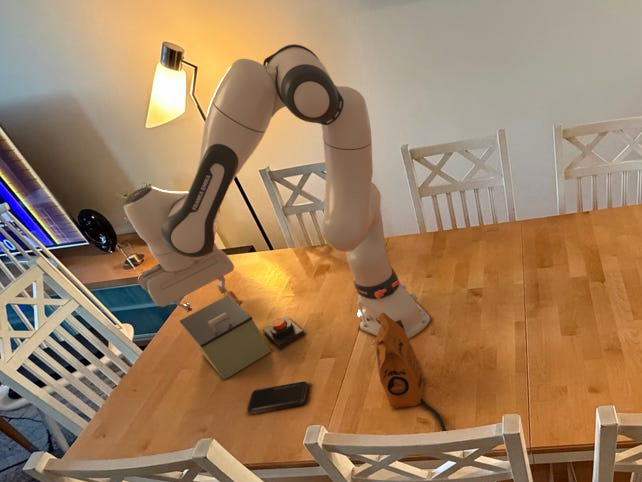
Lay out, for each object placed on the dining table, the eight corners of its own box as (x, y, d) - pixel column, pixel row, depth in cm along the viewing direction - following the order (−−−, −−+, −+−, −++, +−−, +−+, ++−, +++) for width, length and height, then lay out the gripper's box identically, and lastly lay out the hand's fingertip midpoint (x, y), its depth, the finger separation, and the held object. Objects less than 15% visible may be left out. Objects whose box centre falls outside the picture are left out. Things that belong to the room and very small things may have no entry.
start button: (288, 325, 151) (286, 321, 150) (278, 332, 150) (275, 327, 149) (283, 321, 154) (280, 316, 152) (272, 327, 152) (270, 322, 151)
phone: (303, 402, 130) (246, 411, 130) (304, 405, 131) (248, 414, 131) (307, 380, 136) (253, 389, 136) (309, 383, 136) (254, 392, 137)
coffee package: (385, 413, 125) (359, 348, 110) (388, 377, 134) (364, 313, 119) (425, 407, 125) (404, 341, 110) (425, 371, 134) (405, 306, 119)
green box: (271, 351, 149) (251, 317, 140) (224, 379, 142) (200, 346, 134) (248, 329, 158) (229, 297, 149) (204, 355, 152) (180, 323, 143)
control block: (304, 334, 152) (300, 326, 150) (281, 349, 149) (276, 340, 147) (288, 320, 159) (283, 311, 156) (265, 333, 155) (260, 325, 153)
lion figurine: (250, 319, 162) (237, 296, 156) (234, 326, 160) (220, 304, 154) (239, 298, 172) (226, 277, 165) (223, 305, 170) (210, 283, 164)
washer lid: (252, 319, 139) (245, 306, 136) (201, 347, 133) (193, 335, 130) (229, 297, 149) (222, 284, 146) (180, 322, 143) (172, 310, 140)
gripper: (137, 281, 115) (171, 326, 124) (221, 240, 124) (247, 286, 133) (129, 272, 119) (163, 317, 128) (211, 233, 127) (237, 278, 137)
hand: (206, 301), depth 131 cm, fingers open, 8 cm apart
